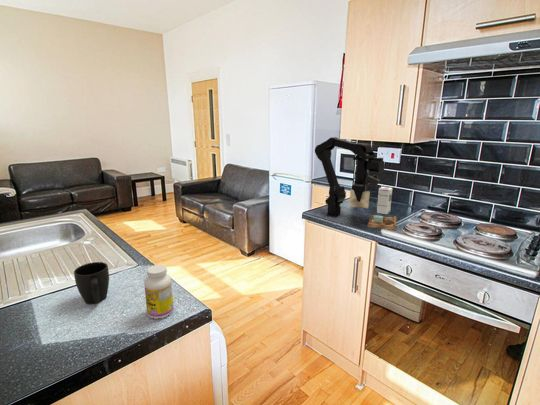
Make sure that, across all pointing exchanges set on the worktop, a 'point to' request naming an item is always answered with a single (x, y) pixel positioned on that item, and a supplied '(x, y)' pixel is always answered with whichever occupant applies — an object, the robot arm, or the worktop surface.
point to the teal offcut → (378, 218)
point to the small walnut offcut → (388, 221)
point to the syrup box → (384, 200)
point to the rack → (383, 226)
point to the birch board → (363, 202)
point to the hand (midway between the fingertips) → (359, 201)
